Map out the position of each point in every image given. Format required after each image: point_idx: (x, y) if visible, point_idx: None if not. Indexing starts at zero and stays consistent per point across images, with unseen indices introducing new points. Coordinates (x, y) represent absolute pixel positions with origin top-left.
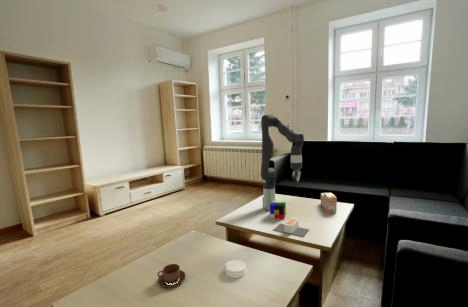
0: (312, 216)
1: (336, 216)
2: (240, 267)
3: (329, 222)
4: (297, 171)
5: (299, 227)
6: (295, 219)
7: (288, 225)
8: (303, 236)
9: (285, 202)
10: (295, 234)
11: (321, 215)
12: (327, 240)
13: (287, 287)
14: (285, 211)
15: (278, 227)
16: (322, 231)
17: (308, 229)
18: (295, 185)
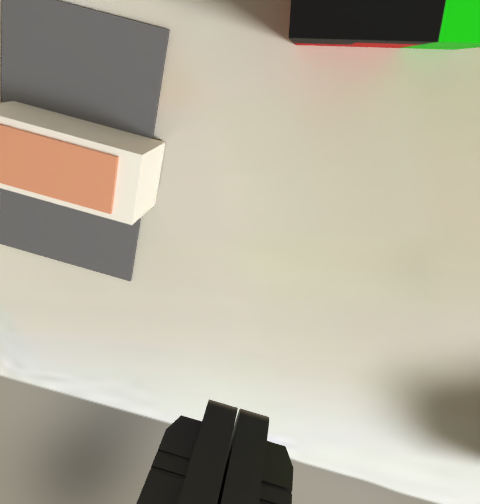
0: (418, 307)
1: (438, 463)
2: None
3: (305, 408)
4: None
5: None
6: (104, 201)
7: None
8: (5, 244)
9: (475, 40)
10: (8, 190)
11: (451, 373)
12: (27, 368)
13: None
14: (417, 46)
15: (74, 30)
16: (137, 354)
17: (126, 275)
18: (171, 433)
